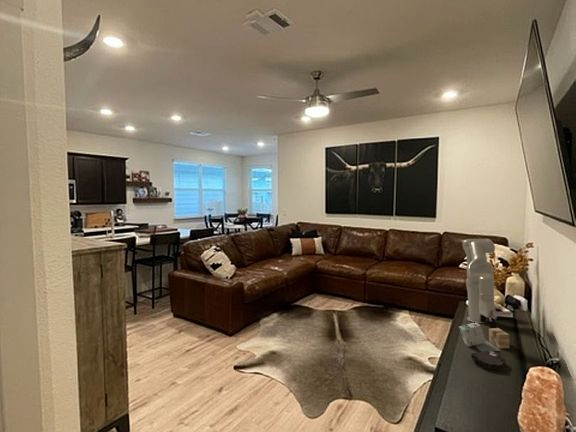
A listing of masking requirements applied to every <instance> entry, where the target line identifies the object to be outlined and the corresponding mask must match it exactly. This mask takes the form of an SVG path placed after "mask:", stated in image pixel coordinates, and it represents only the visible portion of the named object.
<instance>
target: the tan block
mask: <svg viewBox="0 0 576 432" xmlns="http://www.w3.org/2000/svg"><path fill="white" fill-rule="evenodd" d="M488 342H490V343H491V344H493V345H494V346H495V347H497V348H498V349H510V348H511V347H510V345H511V344H510V334H509V333H507V332H505V331H504V330H503V329H501V328H499V327H496V328H490V327H489V328H488Z"/></svg>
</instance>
